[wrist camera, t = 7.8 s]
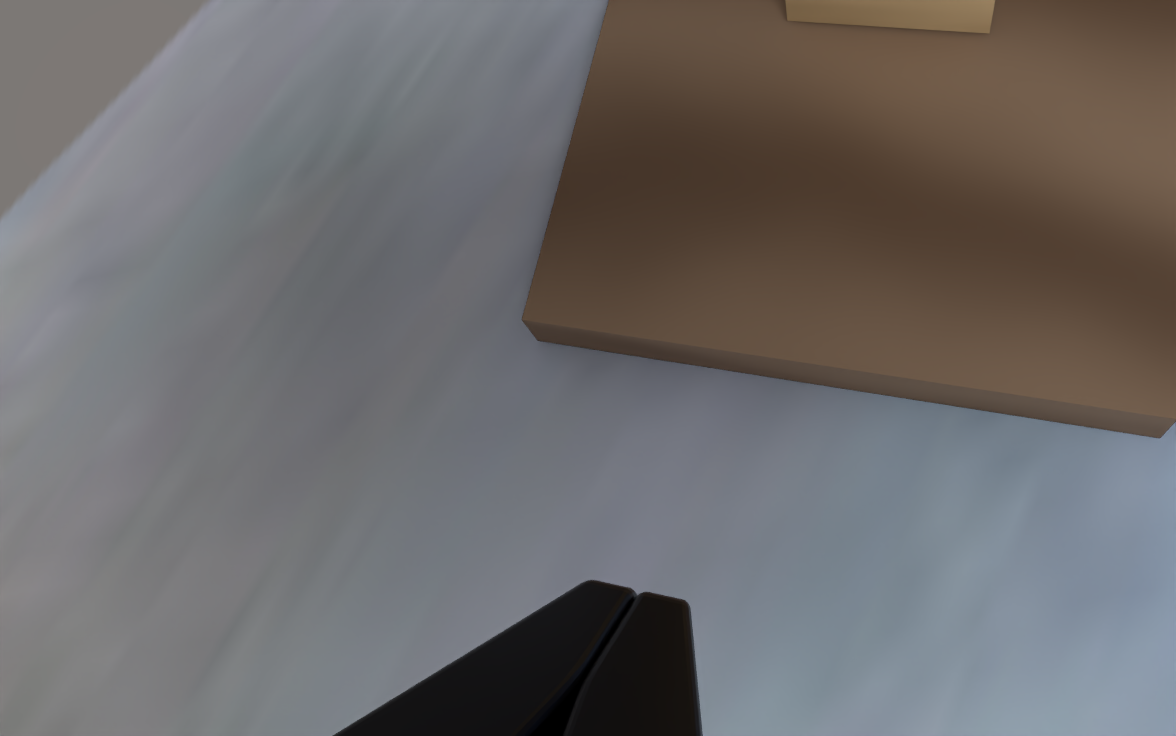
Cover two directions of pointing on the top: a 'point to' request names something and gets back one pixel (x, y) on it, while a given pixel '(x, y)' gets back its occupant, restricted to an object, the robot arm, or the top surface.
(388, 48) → the top surface
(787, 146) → the walnut sill
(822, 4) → the pale yellow box
